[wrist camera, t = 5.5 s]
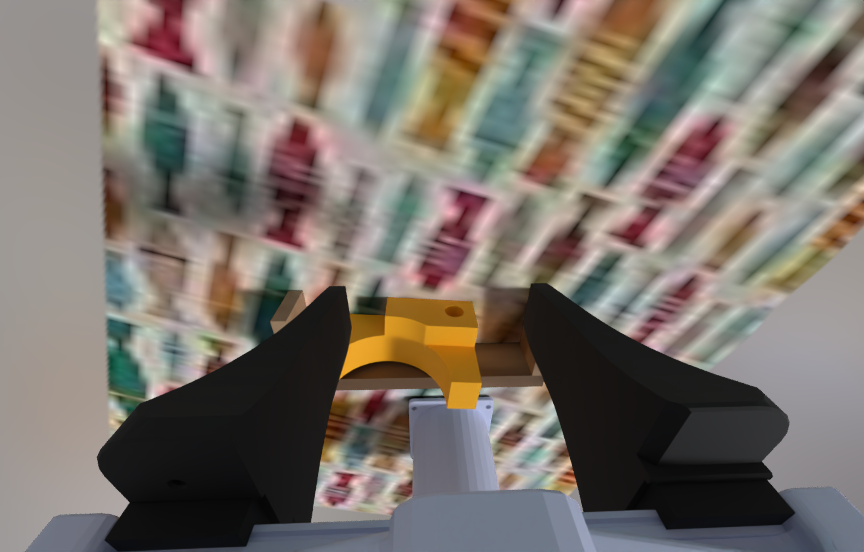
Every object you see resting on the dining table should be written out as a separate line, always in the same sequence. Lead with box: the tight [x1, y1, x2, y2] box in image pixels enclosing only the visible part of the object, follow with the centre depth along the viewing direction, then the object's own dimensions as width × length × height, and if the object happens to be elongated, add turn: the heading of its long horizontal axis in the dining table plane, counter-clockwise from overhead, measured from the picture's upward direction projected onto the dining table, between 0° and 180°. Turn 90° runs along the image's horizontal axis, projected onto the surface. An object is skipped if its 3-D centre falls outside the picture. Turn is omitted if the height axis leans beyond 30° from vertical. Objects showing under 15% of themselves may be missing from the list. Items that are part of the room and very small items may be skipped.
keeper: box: [270, 291, 544, 390], centre depth 24 cm, size 7×19×4 cm, turn 89°
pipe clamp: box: [340, 297, 482, 409], centre depth 23 cm, size 12×4×6 cm, turn 85°
